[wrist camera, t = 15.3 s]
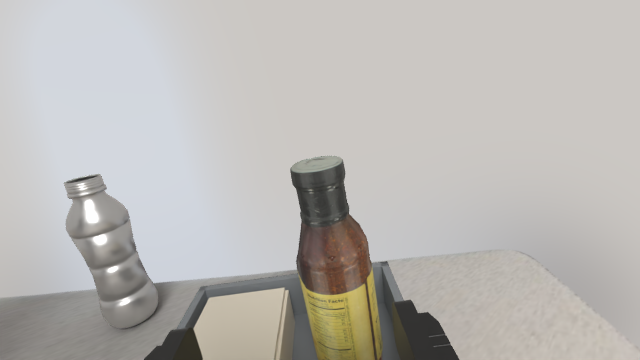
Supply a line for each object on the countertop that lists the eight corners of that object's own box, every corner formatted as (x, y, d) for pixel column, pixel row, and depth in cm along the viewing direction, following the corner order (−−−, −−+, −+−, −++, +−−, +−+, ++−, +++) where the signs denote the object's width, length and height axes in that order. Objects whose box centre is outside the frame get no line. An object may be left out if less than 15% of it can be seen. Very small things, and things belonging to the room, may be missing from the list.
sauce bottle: (347, 326, 33) (321, 148, 27) (397, 356, 28) (379, 151, 23) (303, 368, 29) (261, 168, 23) (354, 412, 24) (318, 177, 18)
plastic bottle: (126, 342, 37) (62, 189, 31) (98, 327, 40) (37, 187, 34) (172, 307, 42) (125, 170, 36) (145, 296, 45) (98, 170, 40)
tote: (141, 496, 22) (113, 438, 20) (213, 327, 37) (200, 286, 35) (446, 459, 21) (444, 396, 19) (390, 304, 36) (387, 261, 35)
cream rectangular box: (170, 452, 23) (151, 404, 22) (218, 332, 35) (207, 296, 33) (285, 438, 23) (273, 389, 22) (295, 322, 34) (287, 285, 33)
